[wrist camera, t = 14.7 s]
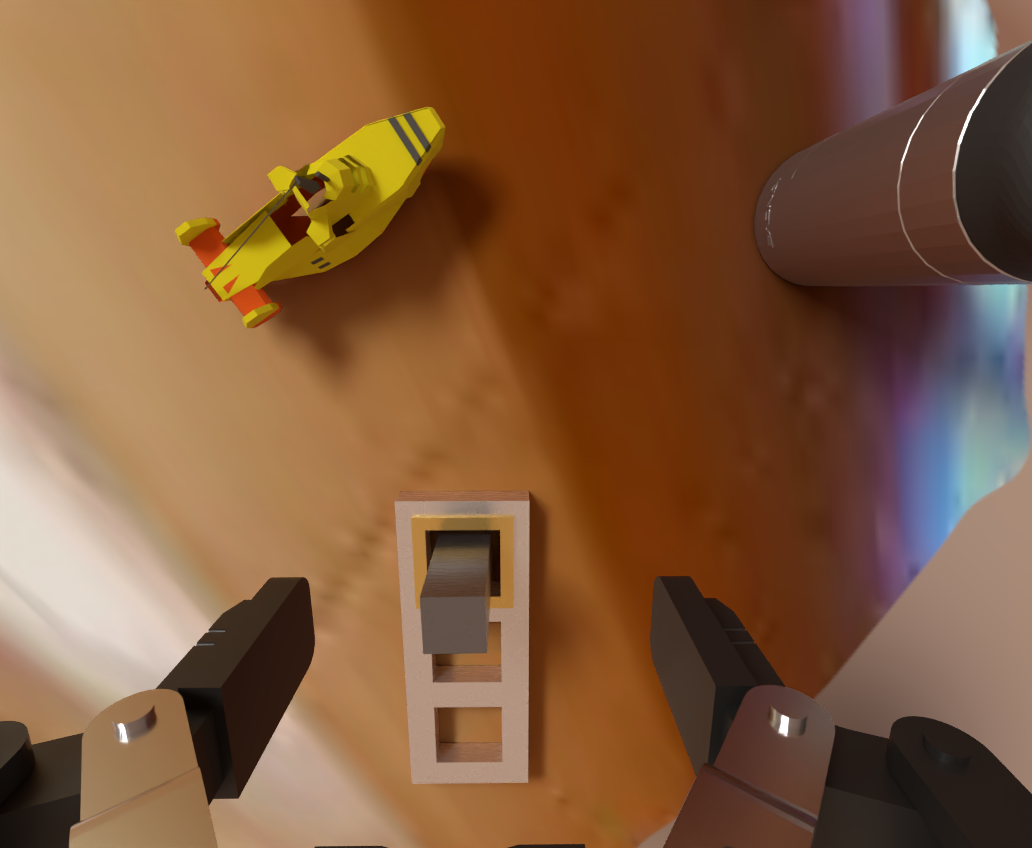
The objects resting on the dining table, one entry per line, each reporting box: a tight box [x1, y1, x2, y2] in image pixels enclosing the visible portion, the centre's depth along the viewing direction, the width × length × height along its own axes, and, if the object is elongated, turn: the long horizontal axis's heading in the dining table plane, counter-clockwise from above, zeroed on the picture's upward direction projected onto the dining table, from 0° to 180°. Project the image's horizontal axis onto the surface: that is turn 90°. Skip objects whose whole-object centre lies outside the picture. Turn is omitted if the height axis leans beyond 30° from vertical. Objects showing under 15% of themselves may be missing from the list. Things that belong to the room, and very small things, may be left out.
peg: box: [420, 530, 492, 654], centre depth 38 cm, size 4×4×10 cm
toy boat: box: [175, 107, 445, 328], centre depth 32 cm, size 6×18×10 cm, turn 123°
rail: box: [395, 491, 530, 784], centre depth 44 cm, size 10×26×2 cm, turn 0°
